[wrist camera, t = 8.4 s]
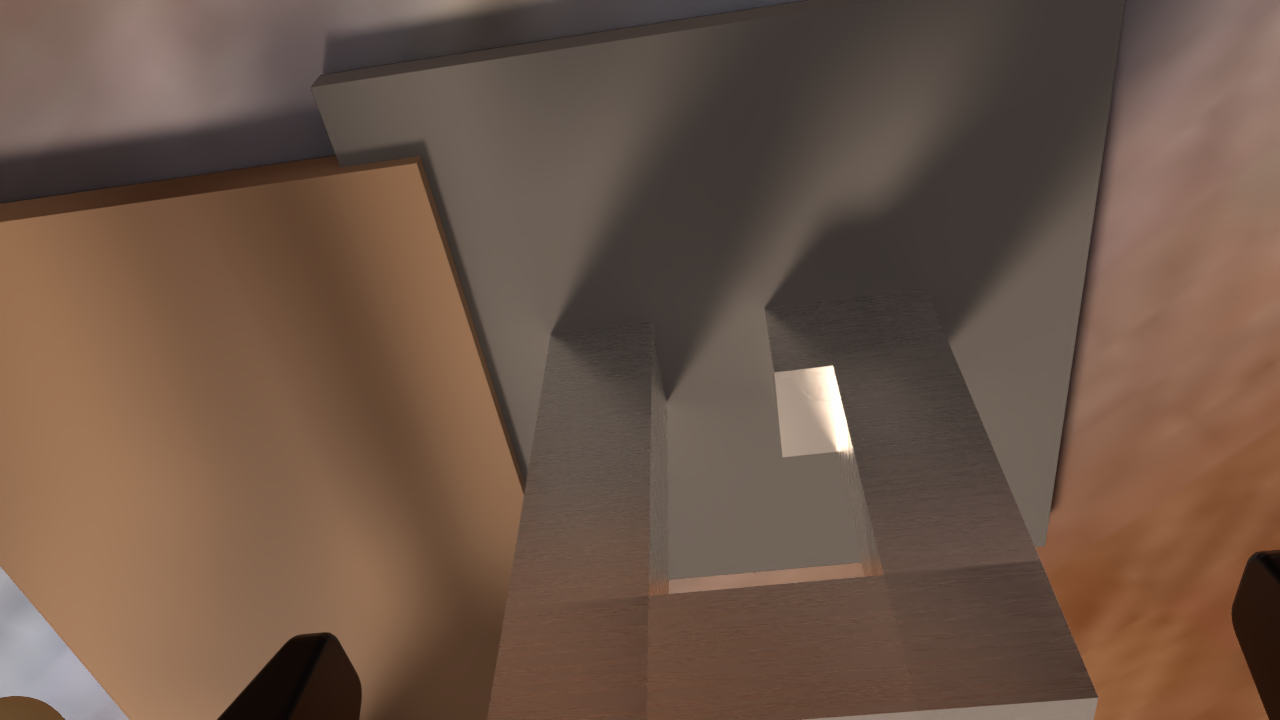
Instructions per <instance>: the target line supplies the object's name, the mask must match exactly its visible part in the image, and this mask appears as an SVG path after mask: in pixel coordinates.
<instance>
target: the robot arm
mask: <svg viewBox="0 0 1280 720" xmlns="http://www.w3.org/2000/svg"><path fill="white" fill-rule="evenodd" d="M1232 622H1233V627H1234V630H1235V633H1236V636H1237V639H1238V641H1239V644H1240V646H1241V649H1242V652H1243V654H1244V657H1245V659H1246V662H1247V664H1248V667H1249V670H1250V672H1251V675H1252V677H1253V680H1254V682H1255V685H1256V688H1257V690H1258V693H1259V695H1260V698H1261V700H1262V703H1263V706H1264V708H1265V711H1266V713H1267V716H1268V718H1269V720H1280V550H1270V551H1260V552H1256V553H1254V554H1253V555H1252V556H1251V557H1250V558H1249V559H1248V561H1247V564H1246V567H1245V570H1244V573H1243V575H1242V578H1241V581H1240V584H1239V587H1238V590H1237V593H1236V596H1235V599H1234V602H1233V606H1232ZM361 703H362V687H361V682H360V678H359V676H358V674H357V672H356V670H355V668H354V667H353V665H352V663H351V661H350V660H349V658H348V656H347V654H346V652H345V651H344V649H343V647H342V645H341V644H340V642H339V640H338V639H337V637H336V636H335V635H333V634H331V633H330V632H321V633H309V634H300V635H296V636H294V637H292V638H291V639H289V640H288V641H287V642H286V643H285V644H284V645H283V646H282V647H281V648H280V649H279V651H278V652H277V653H276V654H275V655H274V656H273V657H272V658H271V659H270V661H269V662H268V663H267V664H266V665H265V666H264V667H263V668H262V670H261V671H260V672H259V673H258V674H257V675H256V676H255V677H254V678H253V680H252V681H251V682H250V683H249V684H248V685H247V686H246V687H245V688H244V690H243V691H242V692H241V693H240V694H239V695H238V696H237V697H236V699H235V700H234V701H233V702H232V703H231V704H230V705H229V706H228V707H227V709H226V710H225V711H224V712H223V713H222V714H221V715H220V716H219V717H218V719H217V720H359V719H360V711H361Z"/></svg>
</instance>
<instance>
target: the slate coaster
mask: <svg viewBox="0 0 1280 720" xmlns="http://www.w3.org/2000/svg"><path fill="white" fill-rule="evenodd" d="M1125 1H1126V0H805V1H799V2H792V3H786V4H779V5H773V6H766V7H760V8H753V9H747V10H740V11H734V12H727V13H721V14H714V15H708V16H702V17H695V18H689V19H682V20H676V21H669V22H663V23H656V24H650V25H643V26H637V27H630V28H624V29H617V30H611V31H604V32H598V33H591V34H585V35H578V36H572V37H565V38H559V39H552V40H546V41H539V42H533V43H526V44H520V45H513V46H507V47H500V48H494V49H487V50H481V51H474V52H468V53H461V54H455V55H448V56H442V57H435V58H429V59H422V60H416V61H409V62H403V63H396V64H390V65H383V66H377V67H370V68H364V69H357V70H351V71H344V72H338V73H331V74H325V75H320V76H319V78H318V79H317V80H316V81H315V83H314V84H313V85H312V86H311V87H310V88H311V91H312V93H313V96H314V99H315V101H316V104H317V106H318V109H319V112H320V114H321V117H322V120H323V122H324V125H325V128H326V130H327V133H328V136H329V138H330V141H331V144H332V146H333V149H334V152H335V154H336V157H337V160H338V162H339V165H340V167H347V166H354V165H361V164H368V163H375V162H382V161H389V160H396V159H403V158H410V157H417V156H420V157H421V160H422V164H423V167H424V170H425V173H426V176H427V179H428V182H429V186H430V189H431V192H432V195H433V198H434V201H435V204H436V207H437V211H438V214H439V217H440V220H441V223H442V226H443V229H444V233H445V236H446V239H447V242H448V245H449V248H450V251H451V254H452V258H453V261H454V264H455V267H456V270H457V273H458V276H459V280H460V283H461V286H462V289H463V292H464V295H465V298H466V301H467V305H468V308H469V311H470V314H471V317H472V320H473V323H474V327H475V330H476V333H477V336H478V339H479V342H480V345H481V349H482V352H483V355H484V358H485V361H486V364H487V367H488V370H489V374H490V377H491V380H492V383H493V386H494V389H495V392H496V396H497V399H498V402H499V405H500V408H501V411H502V414H503V417H504V421H505V424H506V427H507V430H508V433H509V436H510V439H511V443H512V446H513V449H514V452H515V455H516V458H517V461H518V464H519V468H520V471H521V474H522V477H523V480H524V483H525V486H526V481H527V475H528V469H529V462H530V456H531V450H532V444H533V438H534V432H535V426H536V420H537V414H538V408H539V402H540V396H541V390H542V384H543V377H544V371H545V365H546V359H547V353H548V347H549V341H550V335H551V334H557V333H565V332H573V331H582V330H590V329H598V328H606V327H614V326H623V325H631V324H639V323H647V322H652V323H653V328H654V333H655V339H656V344H657V349H658V355H659V360H660V366H661V371H662V376H663V382H664V387H665V393H666V398H667V445H668V577H669V580H672V579H683V578H694V577H705V576H716V575H728V574H739V573H750V572H761V571H773V570H784V569H795V568H806V567H817V566H829V565H840V564H851V563H862V562H861V557H860V553H859V548H858V543H857V539H856V534H855V530H854V525H853V521H852V516H851V512H850V507H849V503H848V498H847V494H846V489H845V485H844V480H843V476H842V471H841V467H840V462H839V458H838V453H837V452H829V453H820V454H810V455H800V456H791V457H782V451H781V444H780V438H779V431H778V425H777V418H776V411H775V405H774V398H773V392H772V382H771V372H770V362H769V352H768V342H767V331H766V321H765V311H764V308H770V307H778V306H786V305H794V304H802V303H810V302H819V301H827V300H835V299H843V298H851V297H859V296H868V295H876V294H884V293H892V292H900V291H909V290H917V289H925V288H926V290H927V292H928V295H929V297H930V299H931V302H932V304H933V306H934V309H935V311H936V314H937V316H938V318H939V321H940V323H941V325H942V328H943V330H944V333H945V335H946V337H947V340H948V342H949V344H950V347H951V349H952V352H953V354H954V356H955V359H956V361H957V363H958V366H959V368H960V371H961V373H962V375H963V378H964V380H965V382H966V385H967V387H968V390H969V392H970V394H971V397H972V399H973V401H974V404H975V406H976V409H977V411H978V413H979V416H980V418H981V420H982V423H983V425H984V428H985V430H986V432H987V435H988V437H989V439H990V442H991V444H992V447H993V449H994V451H995V454H996V456H997V458H998V461H999V463H1000V466H1001V468H1002V470H1003V473H1004V475H1005V477H1006V480H1007V482H1008V485H1009V487H1010V489H1011V492H1012V494H1013V496H1014V499H1015V501H1016V504H1017V506H1018V508H1019V511H1020V513H1021V515H1022V518H1023V520H1024V523H1025V525H1026V527H1027V530H1028V532H1029V534H1030V537H1031V539H1032V542H1033V544H1034V546H1035V547H1042V546H1045V543H1046V537H1047V530H1048V523H1049V516H1050V509H1051V503H1052V496H1053V489H1054V482H1055V476H1056V469H1057V462H1058V455H1059V449H1060V442H1061V435H1062V428H1063V421H1064V415H1065V408H1066V401H1067V394H1068V388H1069V381H1070V374H1071V367H1072V360H1073V354H1074V347H1075V340H1076V333H1077V327H1078V320H1079V313H1080V306H1081V299H1082V293H1083V286H1084V279H1085V272H1086V266H1087V259H1088V252H1089V245H1090V238H1091V232H1092V225H1093V218H1094V211H1095V205H1096V198H1097V191H1098V184H1099V178H1100V171H1101V164H1102V157H1103V150H1104V144H1105V137H1106V130H1107V123H1108V117H1109V110H1110V103H1111V96H1112V89H1113V83H1114V76H1115V69H1116V62H1117V56H1118V49H1119V42H1120V35H1121V28H1122V22H1123V15H1124V8H1125Z"/></svg>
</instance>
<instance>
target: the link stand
mask: <svg viewBox="0 0 1280 720" xmlns="http://www.w3.org/2000/svg"><path fill="white" fill-rule="evenodd" d="M525 487H526V486H525V483H524V480H523V477H522V474H521V471H520V468H519V464H518V461H517V458H516V455H515V452H514V449H513V446H512V443H511V439H510V436H509V433H508V430H507V427H506V424H505V421H504V417H503V414H502V411H501V408H500V405H499V402H498V399H497V396H496V392H495V389H494V386H493V383H492V380H491V377H490V374H489V370H488V367H487V364H486V361H485V358H484V355H483V352H482V349H481V345H480V342H479V339H478V336H477V333H476V330H475V327H474V323H473V320H472V317H471V314H470V311H469V308H468V305H467V301H466V298H465V295H464V292H463V289H462V286H461V283H460V280H459V276H458V273H457V270H456V267H455V264H454V261H453V258H452V254H451V251H450V248H449V245H448V242H447V239H446V236H445V233H444V229H443V226H442V223H441V220H440V217H439V214H438V211H437V207H436V204H435V201H434V198H433V195H432V192H431V189H430V186H429V182H428V179H427V176H426V173H425V170H424V167H423V164H422V160H421V157H420V156H417V157H410V158H403V159H396V160H389V161H382V162H375V163H368V164H361V165H354V166H347V167H340V165H339V162H338V160H337V157H336V155H335V156H328V157H321V158H314V159H307V160H300V161H293V162H286V163H279V164H272V165H265V166H258V167H252V168H245V169H238V170H231V171H224V172H217V173H210V174H203V175H196V176H189V177H182V178H175V179H168V180H161V181H154V182H147V183H140V184H133V185H126V186H120V187H113V188H106V189H99V190H92V191H85V192H78V193H71V194H64V195H57V196H50V197H43V198H36V199H29V200H22V201H15V202H8V203H1V204H0V566H1V567H2V569H3V570H4V571H5V572H6V573H7V575H8V576H9V577H10V578H11V579H12V580H13V582H14V583H15V584H16V585H17V586H18V588H19V589H20V590H21V591H22V592H23V594H24V595H25V596H26V597H27V598H28V599H29V601H30V602H31V603H32V604H33V605H34V607H35V608H36V609H37V610H38V611H39V613H40V614H41V615H42V616H43V617H44V618H45V620H46V621H47V622H48V623H49V624H50V626H51V627H52V628H53V629H54V630H55V632H56V633H57V634H58V635H59V636H60V637H61V639H62V640H63V641H64V642H65V643H66V645H67V646H68V647H69V648H70V649H71V651H72V652H73V653H74V654H75V655H76V656H77V658H78V659H79V660H80V661H81V662H82V664H83V665H84V666H85V667H86V668H87V670H88V671H89V672H90V673H91V674H92V675H93V677H94V678H95V679H96V680H97V681H98V683H99V684H100V685H101V686H102V687H103V689H104V690H105V691H106V692H107V693H108V694H109V696H110V697H111V698H112V699H113V700H114V702H115V703H116V704H117V705H118V706H119V708H120V709H121V710H122V711H123V712H124V713H125V715H126V716H127V717H128V718H129V719H130V720H217V719H218V717H219V716H220V715H221V714H222V713H223V712H224V711H225V710H226V709H227V707H228V706H229V705H230V704H231V703H232V702H233V701H234V700H235V699H236V697H237V696H238V695H239V694H240V693H241V692H242V691H243V690H244V688H245V687H246V686H247V685H248V684H249V683H250V682H251V681H252V680H253V678H254V677H255V676H256V675H257V674H258V673H259V672H260V671H261V670H262V668H263V667H264V666H265V665H266V664H267V663H268V662H269V661H270V659H271V658H272V657H273V656H274V655H275V654H276V653H277V652H278V651H279V649H280V648H281V647H282V646H283V645H284V644H285V643H286V642H287V641H288V640H289V639H291V638H292V637H294V636H296V635H300V634H309V633H321V632H330V633H331V634H333V635H335V636H336V637H337V639H338V640H339V642H340V644H341V645H342V647H343V649H344V651H345V652H346V654H347V656H348V658H349V660H350V661H351V663H352V665H353V667H354V668H355V670H356V672H357V674H358V676H359V678H360V682H361V687H362V703H361V711H360V719H359V720H487V717H488V711H489V705H490V699H491V693H492V687H493V681H494V675H495V669H496V663H497V657H498V651H499V645H500V639H501V632H502V626H503V620H504V614H505V608H506V602H507V596H508V590H509V584H510V578H511V572H512V566H513V560H514V554H515V547H516V541H517V535H518V529H519V523H520V517H521V511H522V505H523V499H524V493H525ZM0 720H65V719H64V718H63V717H62V716H61V715H60V714H59V713H58V712H57V711H56V710H55V709H54V708H52V707H51V706H50V705H48V704H46V703H45V702H42V701H40V700H37V699H34V698H30V697H23V696H10V697H3V698H0Z"/></svg>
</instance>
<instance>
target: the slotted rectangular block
mask: <svg viewBox="0 0 1280 720" xmlns="http://www.w3.org/2000/svg"><path fill="white" fill-rule="evenodd" d="M764 311H765V321H766V331H767V342H768V352H769V362H770V372H771V382H772V392H773V398H774V405H775V411H776V418H777V425H778V431H779V438H780V444H781V451H782V457H791V456H800V455H810V454H820V453H829V452H837V453H838V458H839V462H840V467H841V471H842V476H843V480H844V485H845V489H846V494H847V498H848V503H849V507H850V512H851V516H852V521H853V525H854V530H855V534H856V539H857V543H858V548H859V553H860V557H861V562H862V566H863V571H864V575H865V577H855V578H843V579H832V580H821V581H810V582H799V583H788V584H777V585H765V586H754V587H743V588H732V589H721V590H710V591H699V592H688V593H676V594H669V577H668V445H667V398H666V393H665V387H664V382H663V376H662V371H661V366H660V360H659V355H658V349H657V344H656V339H655V333H654V328H653V323H652V322H647V323H639V324H631V325H623V326H614V327H606V328H598V329H590V330H582V331H573V332H565V333H557V334H551V335H550V341H549V347H548V353H547V359H546V365H545V371H544V377H543V384H542V390H541V396H540V402H539V408H538V414H537V420H536V426H535V432H534V438H533V444H532V450H531V456H530V462H529V469H528V475H527V481H526V487H525V493H524V499H523V505H522V511H521V517H520V523H519V529H518V535H517V541H516V547H515V554H514V560H513V566H512V572H511V578H510V584H509V590H508V596H507V602H506V608H505V614H504V620H503V626H502V632H501V639H500V645H499V651H498V657H497V663H496V669H495V675H494V681H493V687H492V693H491V699H490V705H489V711H488V717H487V720H1093V719H1094V715H1095V710H1096V706H1097V701H1098V696H1097V694H1096V691H1095V689H1094V686H1093V684H1092V682H1091V679H1090V677H1089V675H1088V672H1087V670H1086V667H1085V665H1084V663H1083V660H1082V658H1081V656H1080V653H1079V651H1078V648H1077V646H1076V644H1075V641H1074V639H1073V637H1072V634H1071V632H1070V629H1069V627H1068V625H1067V622H1066V620H1065V618H1064V615H1063V613H1062V610H1061V608H1060V606H1059V603H1058V601H1057V599H1056V596H1055V594H1054V591H1053V589H1052V587H1051V584H1050V582H1049V580H1048V577H1047V575H1046V572H1045V570H1044V568H1043V565H1042V563H1041V561H1040V558H1039V556H1038V553H1037V551H1036V549H1035V546H1034V544H1033V542H1032V539H1031V537H1030V534H1029V532H1028V530H1027V527H1026V525H1025V523H1024V520H1023V518H1022V515H1021V513H1020V511H1019V508H1018V506H1017V504H1016V501H1015V499H1014V496H1013V494H1012V492H1011V489H1010V487H1009V485H1008V482H1007V480H1006V477H1005V475H1004V473H1003V470H1002V468H1001V466H1000V463H999V461H998V458H997V456H996V454H995V451H994V449H993V447H992V444H991V442H990V439H989V437H988V435H987V432H986V430H985V428H984V425H983V423H982V420H981V418H980V416H979V413H978V411H977V409H976V406H975V404H974V401H973V399H972V397H971V394H970V392H969V390H968V387H967V385H966V382H965V380H964V378H963V375H962V373H961V371H960V368H959V366H958V363H957V361H956V359H955V356H954V354H953V352H952V349H951V347H950V344H949V342H948V340H947V337H946V335H945V333H944V330H943V328H942V325H941V323H940V321H939V318H938V316H937V314H936V311H935V309H934V306H933V304H932V302H931V299H930V297H929V295H928V292H927V290H926V288H925V289H917V290H909V291H900V292H892V293H884V294H876V295H868V296H859V297H851V298H843V299H835V300H827V301H819V302H810V303H802V304H794V305H786V306H778V307H770V308H764Z"/></svg>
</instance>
